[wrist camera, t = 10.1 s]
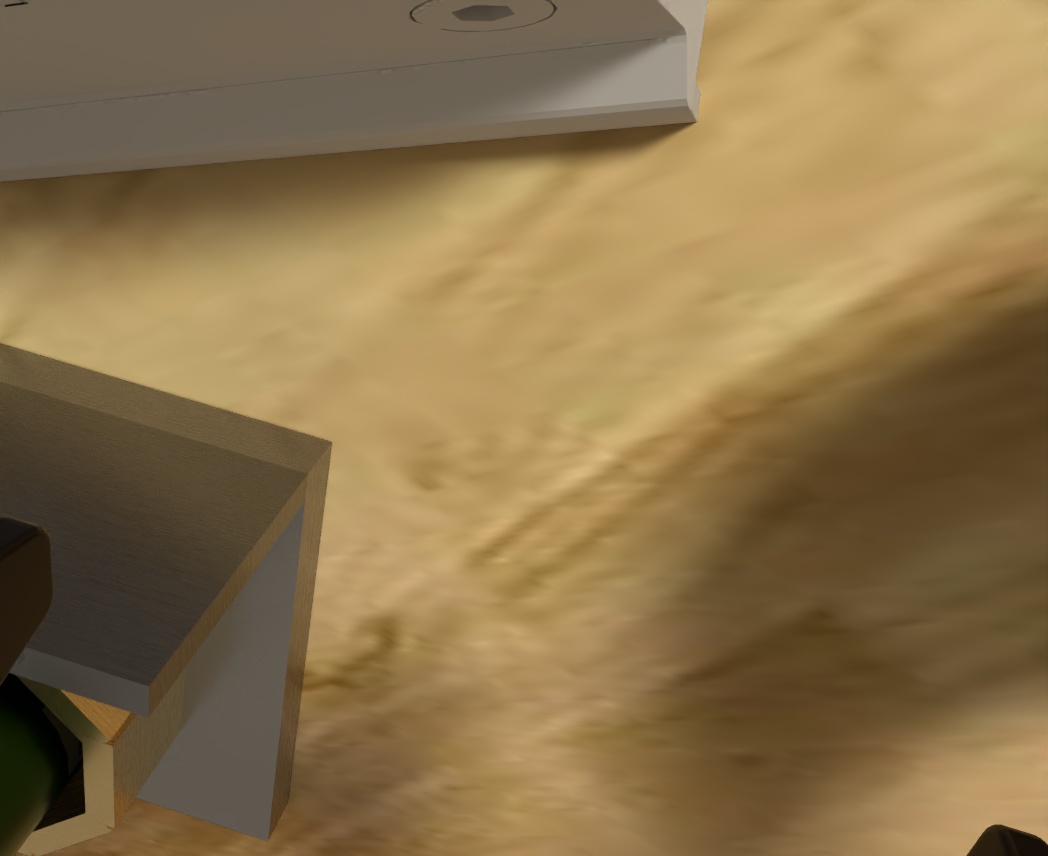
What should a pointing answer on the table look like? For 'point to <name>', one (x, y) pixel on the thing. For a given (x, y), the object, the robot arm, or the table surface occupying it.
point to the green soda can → (30, 762)
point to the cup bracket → (163, 593)
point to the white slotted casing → (327, 76)
